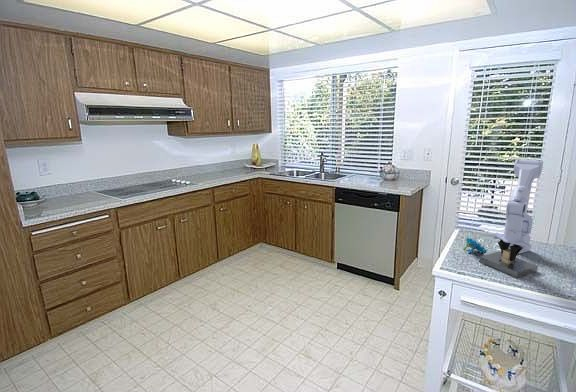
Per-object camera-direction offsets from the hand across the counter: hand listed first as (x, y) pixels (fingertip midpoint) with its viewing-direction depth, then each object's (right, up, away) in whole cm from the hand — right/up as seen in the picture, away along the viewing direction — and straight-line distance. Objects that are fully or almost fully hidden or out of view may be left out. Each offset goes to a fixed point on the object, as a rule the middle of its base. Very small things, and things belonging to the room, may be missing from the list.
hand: (508, 259), depth 133 cm
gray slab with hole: (0, -3, +1) cm, 3 cm away
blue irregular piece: (-5, 0, +15) cm, 16 cm away
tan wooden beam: (0, -3, +1) cm, 3 cm away
